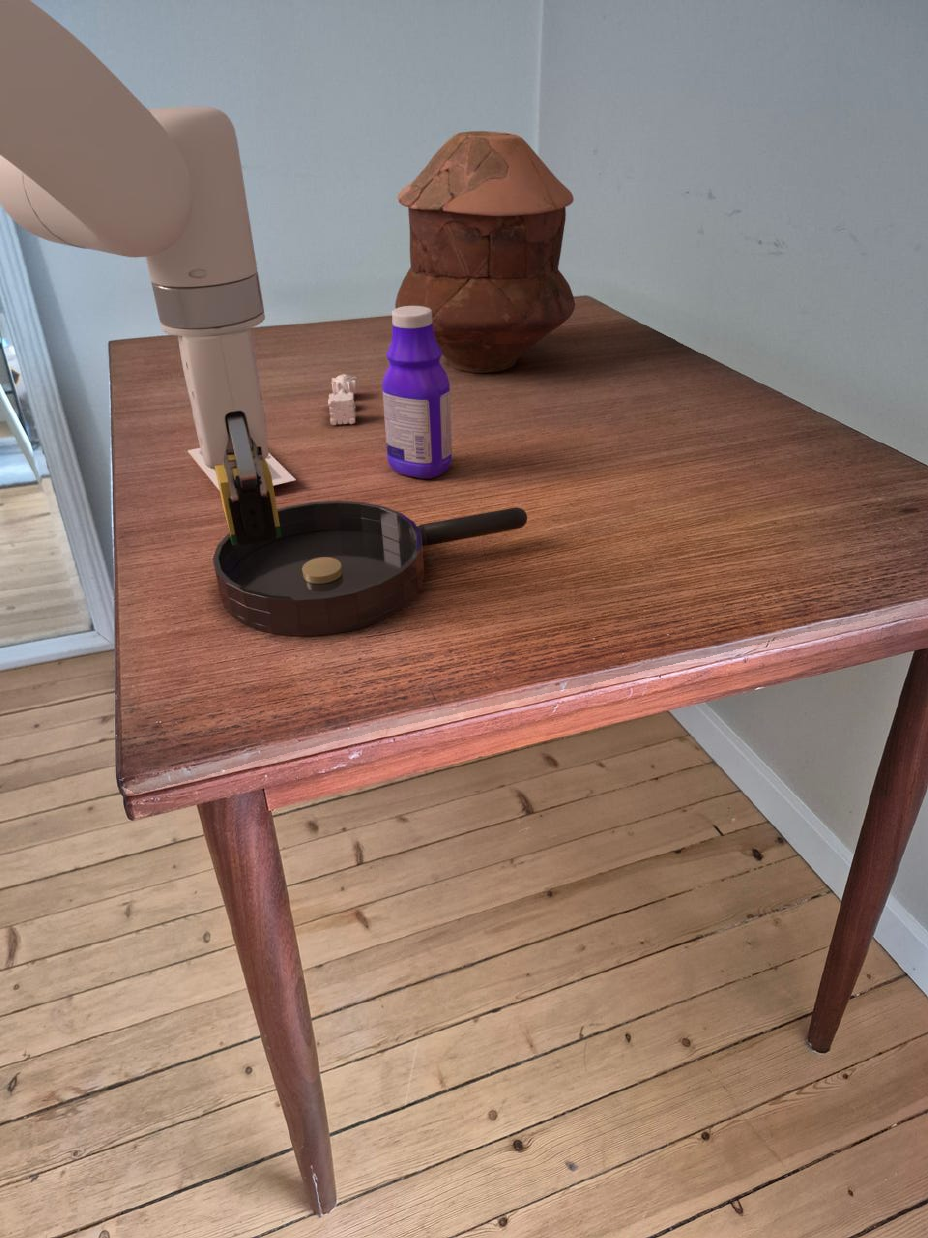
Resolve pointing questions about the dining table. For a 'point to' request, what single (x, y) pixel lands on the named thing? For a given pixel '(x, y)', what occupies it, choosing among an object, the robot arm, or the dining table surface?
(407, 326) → the bottle
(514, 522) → the pan handle
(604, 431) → the dining table surface
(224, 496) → the sponge
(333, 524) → the pan
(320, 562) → the disc
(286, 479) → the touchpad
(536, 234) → the pottery vessel
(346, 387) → the game pieces
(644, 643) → the dining table surface
